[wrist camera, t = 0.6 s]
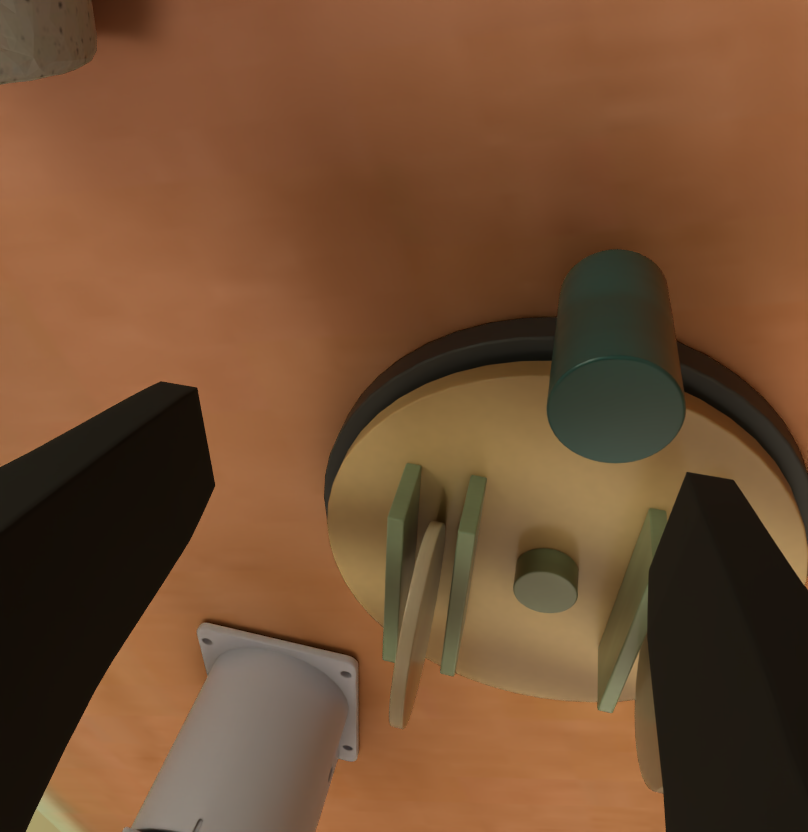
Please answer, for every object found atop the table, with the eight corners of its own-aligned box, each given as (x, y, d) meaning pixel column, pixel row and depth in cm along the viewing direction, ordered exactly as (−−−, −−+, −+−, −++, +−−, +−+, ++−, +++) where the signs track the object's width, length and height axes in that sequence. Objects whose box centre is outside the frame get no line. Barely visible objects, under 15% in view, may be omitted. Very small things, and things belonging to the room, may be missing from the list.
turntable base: (716, 693, 28) (720, 721, 27) (337, 609, 30) (329, 632, 29) (910, 364, 18) (926, 389, 17) (327, 279, 21) (314, 298, 20)
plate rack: (712, 719, 26) (738, 926, 21) (337, 634, 29) (278, 801, 24) (971, 292, 15) (1164, 505, 10) (323, 208, 18) (203, 346, 12)
